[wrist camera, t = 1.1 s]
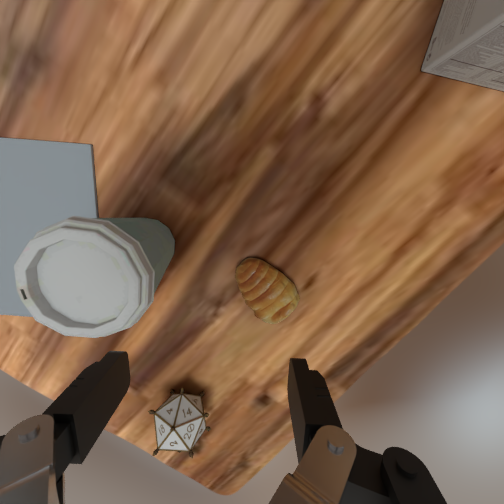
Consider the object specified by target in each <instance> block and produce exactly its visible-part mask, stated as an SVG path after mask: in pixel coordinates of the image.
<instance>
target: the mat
mask: <svg viewBox="0 0 504 504" xmlns="http://www.w3.org/2000/svg"><path fill="white" fill-rule="evenodd" d="M72 216H80V217H87V218H99V217H98V205H97V193H96V181H95V168H94V156H93V145H90V144H77V143H65V142H52V141H39V140H26V139H13V138H0V314H1V315H15V316H29V317H33V316H32V315H31V313H30V312H29V310H28V309H27V308H26V306H25V305H24V303H23V302H22V301H21V299H20V296H19V294H18V291H17V287H16V279H15V271H14V264H15V263H16V261H17V259H18V258H19V256H20V255H21V253H22V251H23V250H24V248H25V247H26V245H27V244H28V242H29V240H31V239H33V238H34V236H35V234H36V232H38V231H40V230H42V229H44V228H46V227H48V226H51V225H53V224H55V223H58V222H60V221H62V220H65V219H67V218H69V217H72Z"/></svg>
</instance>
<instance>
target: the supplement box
mask: <svg viewBox="0 0 504 504" xmlns="http://www.w3.org/2000/svg"><path fill="white" fill-rule="evenodd" d="M421 71H423V72H427V73H431V74H435V75H439V76H443V77H447V78H451V79H455V80H459V81H463V82H467V83H472V84H476V85H480V86H484V87H488V88H492V89H496V90H500V91H504V0H444V2H443V5H442V8H441V11H440V14H439V17H438V20H437V23H436V26H435V29H434V32H433V35H432V38H431V41H430V44H429V47H428V50H427V53H426V56H425V59H424V62H423V65H422V68H421Z"/></svg>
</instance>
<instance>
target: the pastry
mask: <svg viewBox="0 0 504 504" xmlns="http://www.w3.org/2000/svg"><path fill="white" fill-rule="evenodd" d="M235 278H236V280H237V283H238V287H239V290H240V292H241V293H242V296H243V298H244V299H245V302H246V304H247V305H248V306H249V307H250V308H251V309H252V310H253V311H254V313H255V316H256V317H257V318H259V319H262V320H263V321H264V322H267V323H272V324H276V323H278V322H280V321H282V320H284V319H285V318H287V317H288V316H289V315H290V313H291V312H292V311H294V309H295V308H296V306H297V304H298V302H299V300H300V298H299V295H298V293H297V291H296V287H295V285H294V284H293V283H292V282H291V281H290V280H289V279H288V278H287V277H286V276H285V275H284V274H283V273H281V272H280V271H278V270H277V269H275V268H274V267H272V266H271V265H269V264H268V263H266V262H264V261H263V260H260V259H256V258H247V259H245V260H244V261H242V262H241V264H240V265H239V266H238V267H237V269H236V275H235Z"/></svg>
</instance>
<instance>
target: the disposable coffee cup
mask: <svg viewBox="0 0 504 504" xmlns="http://www.w3.org/2000/svg"><path fill="white" fill-rule="evenodd" d="M174 249H175V240H174V238H173V236H172V234H171V232H170V229H169V228H168V227H167V226H165V225H164V224H162V223H161V222H160V221H158V220H156V219H149V218H87V217H80V216H72V217H69V218H67V219H65V220H62V221H60V222H58V223H55V224H53V225H51V226H48V227H46V228H44V229H42V230H40V231H38V232H36V234H35V236H34V238H33V239H31V240H29V242H28V244H27V245H26V247H25V248H24V250H23V251H22V253H21V255H20V256H19V258H18V259H17V261H16V263H15V264H14V271H15V279H16V287H17V291H18V294H19V296H20V299H21V301H22V302H23V303H24V305H25V306H26V308H27V309H28V310H29V312H30V313H31V315H32V316H33V317H34V319H35V320H36V321H38V322H39V323H41V324H43V325H45V326H47V327H49V328H51V329H53V330H55V331H57V332H59V333H61V334H63V335H65V336H77V337H91V338H98V337H100V336H102V337H105V336H108V335H110V334H113V333H116V332H119V331H122V330H124V329H127V328H130V327H132V326H133V325H134V324H135V323H137V322H138V321H139V319H140V318H141V317H142V315H143V314H144V313H145V311H146V310H147V309H148V307H149V306H150V305H151V303H152V302H153V297H154V293H155V291H156V289H157V287H158V285H159V283H160V281H161V279H162V277H163V275H164V273H165V271H166V269H167V267H168V265H169V263H170V261H171V259H172V257H173V255H174Z"/></svg>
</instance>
